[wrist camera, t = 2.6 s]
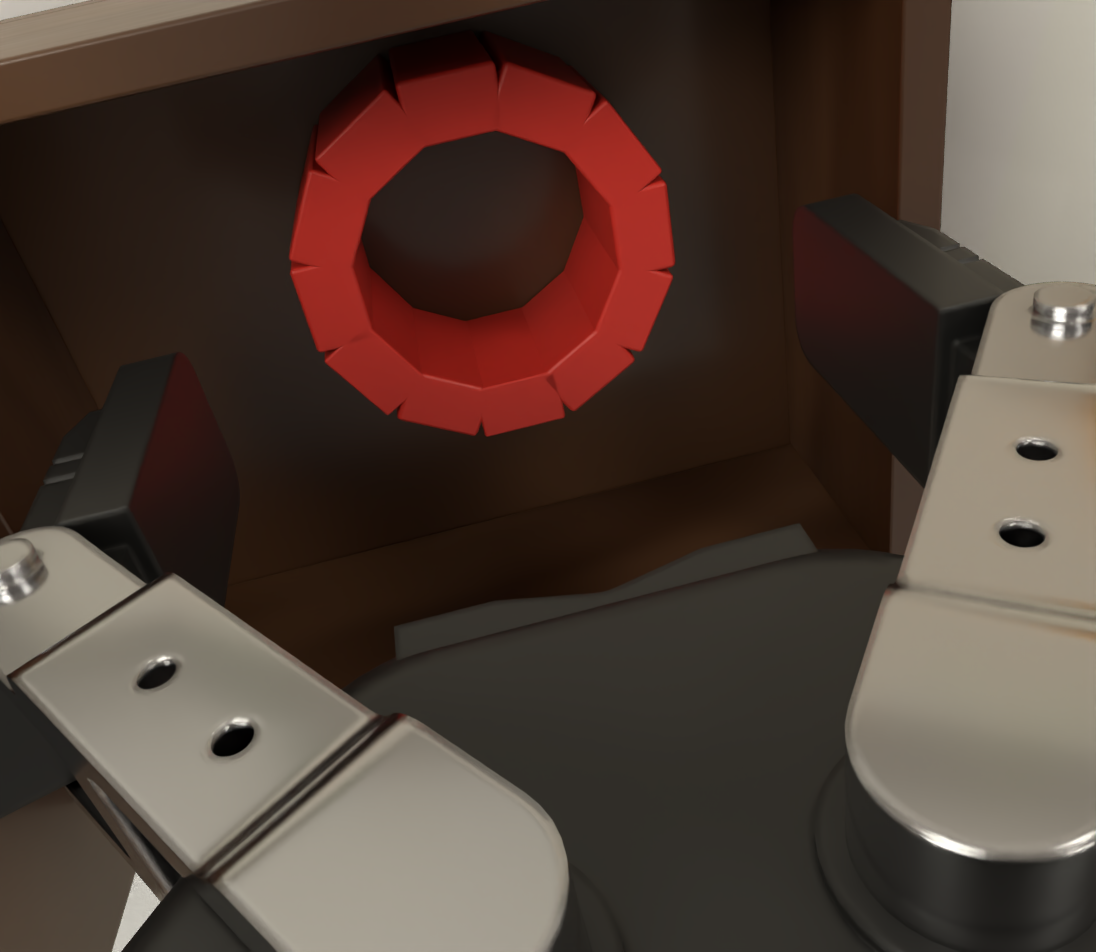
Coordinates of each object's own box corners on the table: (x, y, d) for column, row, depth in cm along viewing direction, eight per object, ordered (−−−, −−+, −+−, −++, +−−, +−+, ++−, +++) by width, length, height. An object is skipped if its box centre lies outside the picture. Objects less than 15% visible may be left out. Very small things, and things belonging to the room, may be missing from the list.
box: (786, -157, 17) (961, -158, 12) (807, 445, 24) (923, 594, 19) (-116, 45, 16) (-310, 129, 11) (180, 604, 23) (136, 800, 18)
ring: (605, -3, 17) (650, 23, 14) (648, 321, 20) (690, 387, 18) (251, 78, 16) (234, 120, 14) (357, 392, 20) (358, 470, 17)
